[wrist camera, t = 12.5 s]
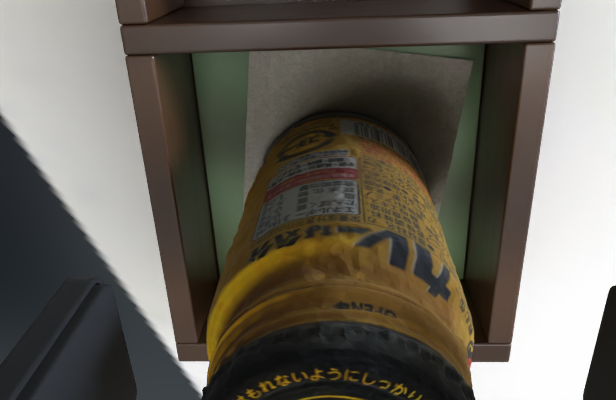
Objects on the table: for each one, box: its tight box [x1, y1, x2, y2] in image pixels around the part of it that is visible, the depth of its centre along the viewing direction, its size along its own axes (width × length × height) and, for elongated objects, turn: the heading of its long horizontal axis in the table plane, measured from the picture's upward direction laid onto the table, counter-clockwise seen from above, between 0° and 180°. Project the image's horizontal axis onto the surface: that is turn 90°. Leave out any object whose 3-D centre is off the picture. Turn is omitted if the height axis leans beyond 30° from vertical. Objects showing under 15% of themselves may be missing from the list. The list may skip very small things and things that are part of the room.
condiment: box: [201, 48, 475, 400], centre depth 15 cm, size 7×8×12 cm
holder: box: [115, 0, 562, 362], centre depth 17 cm, size 22×11×4 cm, turn 2°
